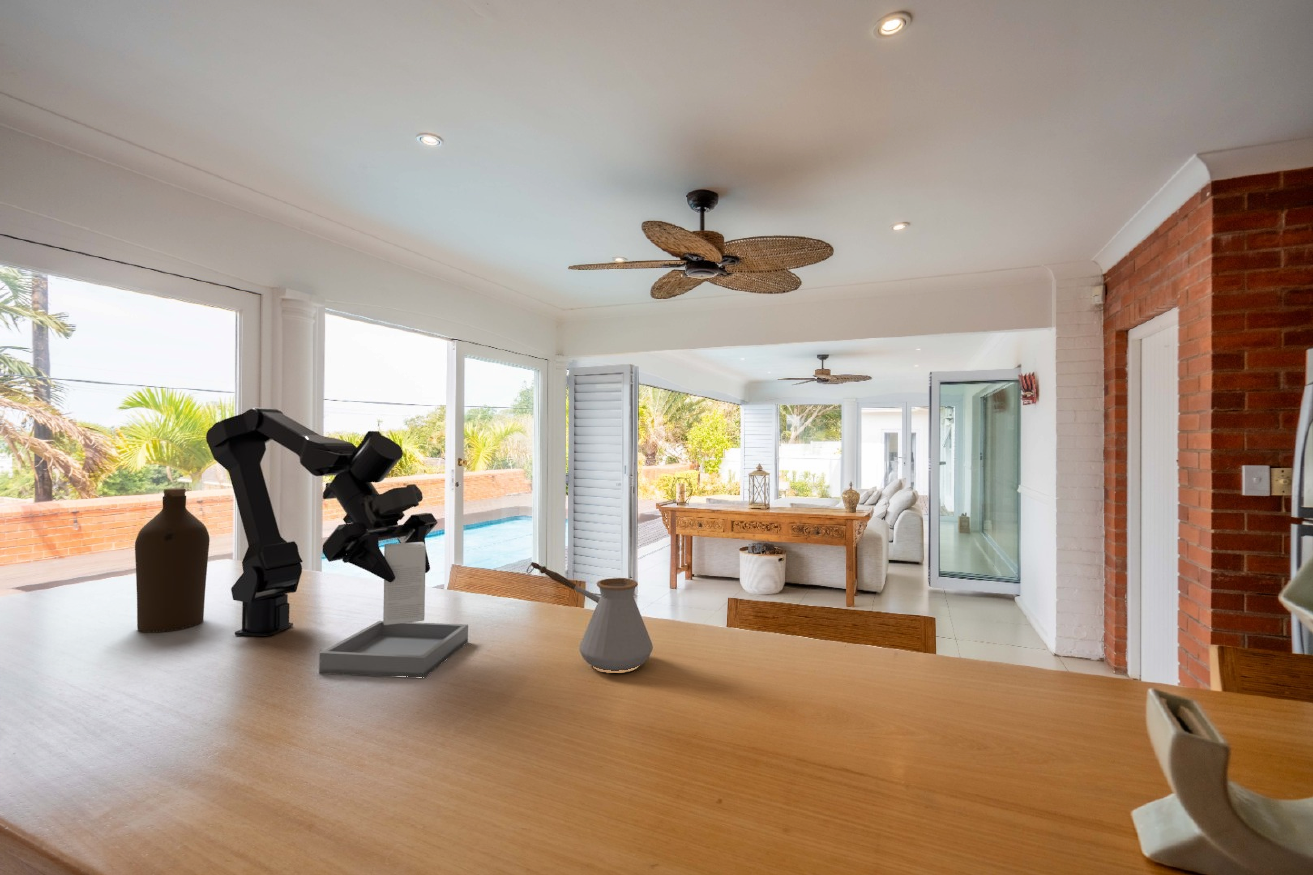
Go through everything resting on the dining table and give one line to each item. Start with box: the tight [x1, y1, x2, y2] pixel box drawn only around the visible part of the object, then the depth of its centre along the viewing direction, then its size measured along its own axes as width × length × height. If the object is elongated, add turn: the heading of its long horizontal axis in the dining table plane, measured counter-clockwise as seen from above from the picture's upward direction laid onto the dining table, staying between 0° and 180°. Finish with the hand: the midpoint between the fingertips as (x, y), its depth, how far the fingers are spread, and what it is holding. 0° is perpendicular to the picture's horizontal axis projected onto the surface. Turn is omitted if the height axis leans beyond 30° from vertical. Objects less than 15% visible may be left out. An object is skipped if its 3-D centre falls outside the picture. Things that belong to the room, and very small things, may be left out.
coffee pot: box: [526, 561, 654, 671], centre depth 94 cm, size 21×12×15 cm, turn 73°
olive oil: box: [134, 487, 211, 633], centre depth 109 cm, size 11×11×25 cm
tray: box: [318, 620, 469, 678], centre depth 95 cm, size 16×16×3 cm
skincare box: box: [382, 542, 427, 625], centre depth 94 cm, size 6×4×12 cm
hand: (411, 575), depth 94 cm, fingers closed on skincare box, 7 cm apart
